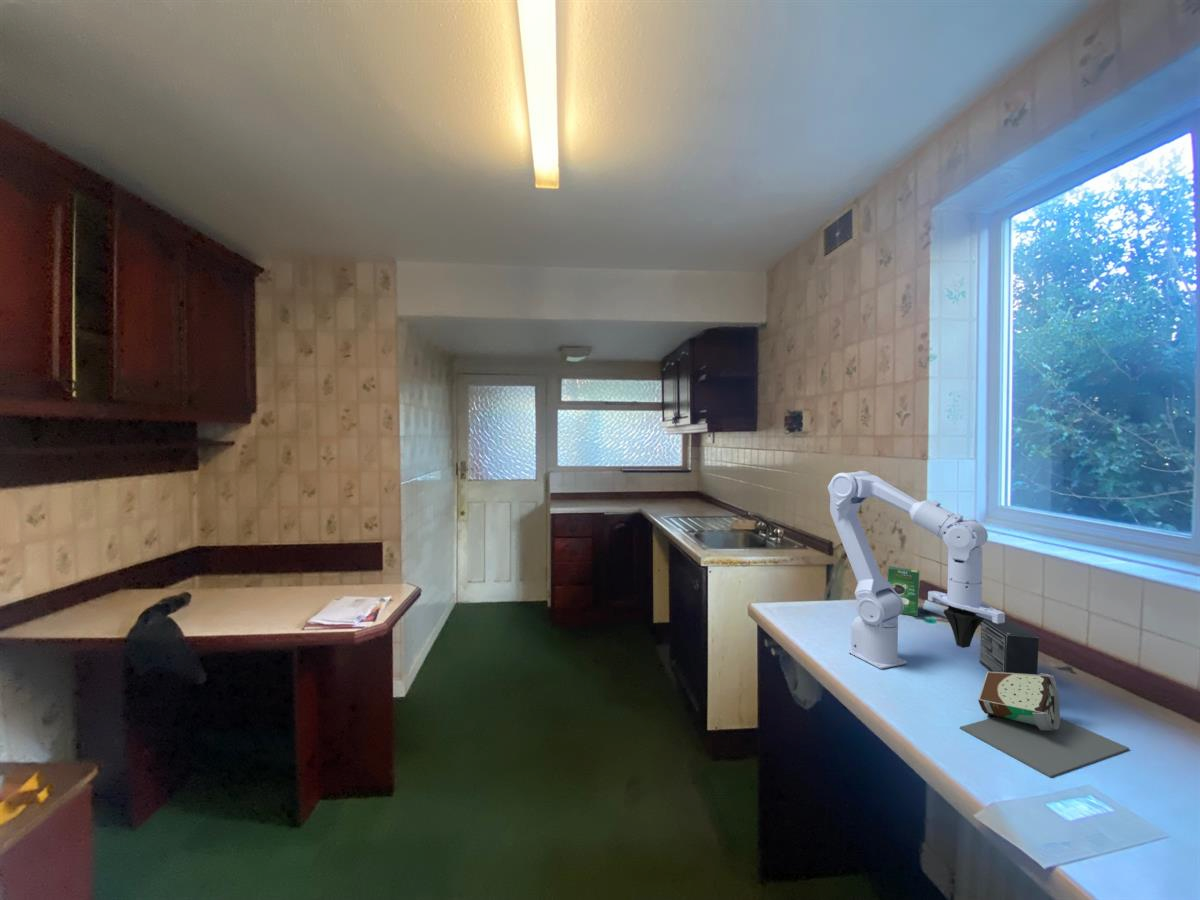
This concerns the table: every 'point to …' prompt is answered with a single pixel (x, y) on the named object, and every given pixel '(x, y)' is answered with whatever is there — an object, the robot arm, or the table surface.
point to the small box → (1008, 648)
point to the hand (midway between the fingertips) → (963, 645)
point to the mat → (1045, 744)
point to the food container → (1022, 698)
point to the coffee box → (906, 587)
